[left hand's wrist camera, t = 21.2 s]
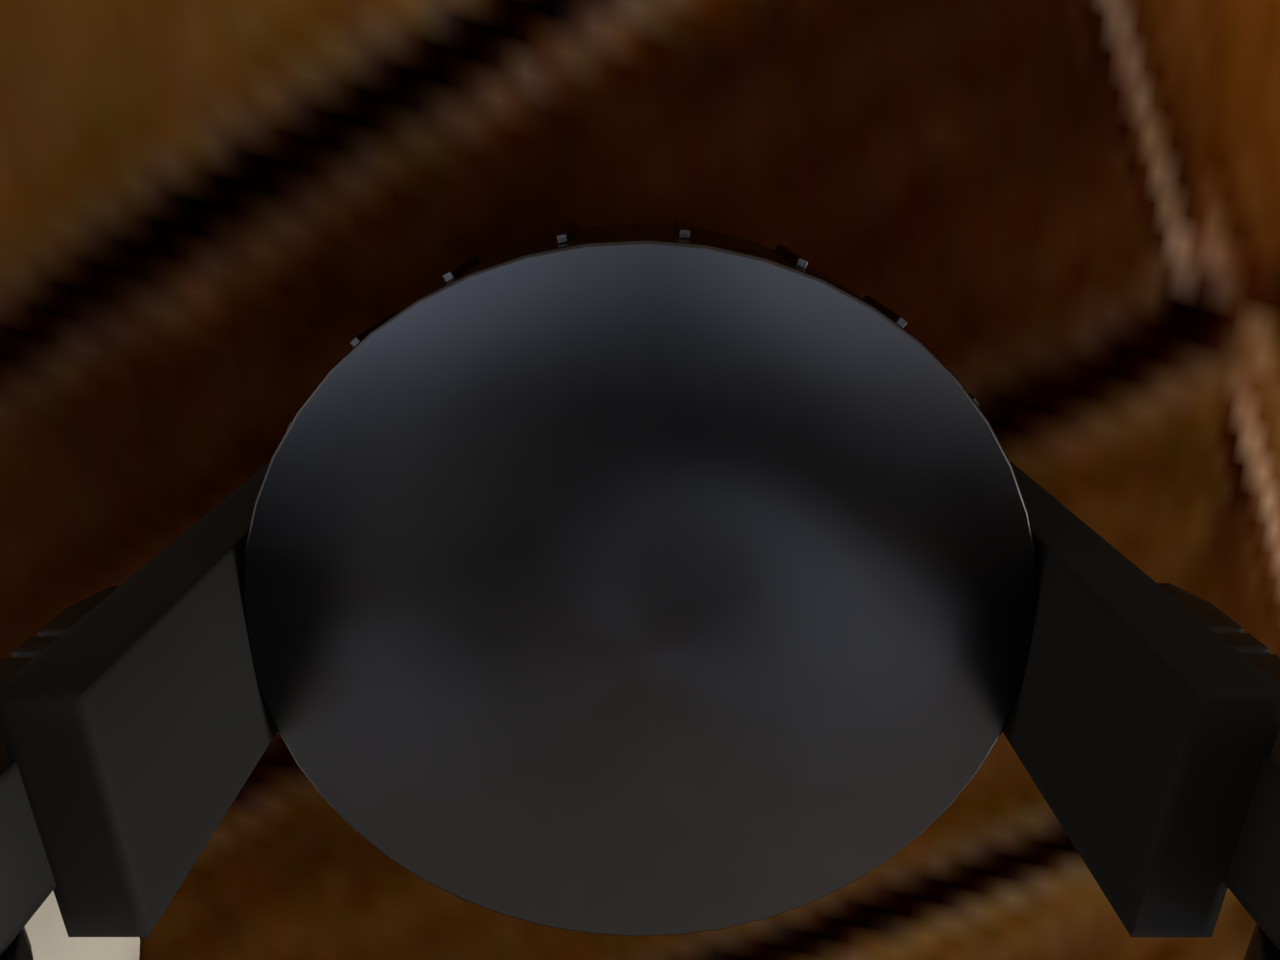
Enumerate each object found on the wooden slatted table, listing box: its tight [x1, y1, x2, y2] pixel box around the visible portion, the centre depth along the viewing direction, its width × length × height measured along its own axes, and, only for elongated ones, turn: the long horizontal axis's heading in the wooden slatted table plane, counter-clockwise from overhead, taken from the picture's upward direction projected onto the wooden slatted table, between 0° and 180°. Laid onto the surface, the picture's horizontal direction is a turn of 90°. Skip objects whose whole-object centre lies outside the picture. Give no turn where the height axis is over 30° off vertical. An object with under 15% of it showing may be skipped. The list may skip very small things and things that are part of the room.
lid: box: [243, 219, 1037, 936], centre depth 11 cm, size 9×9×2 cm
